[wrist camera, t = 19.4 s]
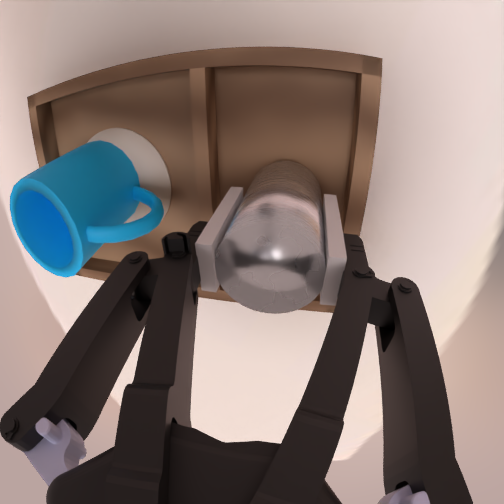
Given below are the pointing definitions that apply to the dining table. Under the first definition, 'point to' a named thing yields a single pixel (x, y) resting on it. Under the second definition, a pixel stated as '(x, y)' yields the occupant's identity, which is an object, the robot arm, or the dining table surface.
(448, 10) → the dining table surface
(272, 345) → the dining table surface
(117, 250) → the tray
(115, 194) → the mug
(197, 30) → the dining table surface
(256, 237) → the clear rounded cylinder
